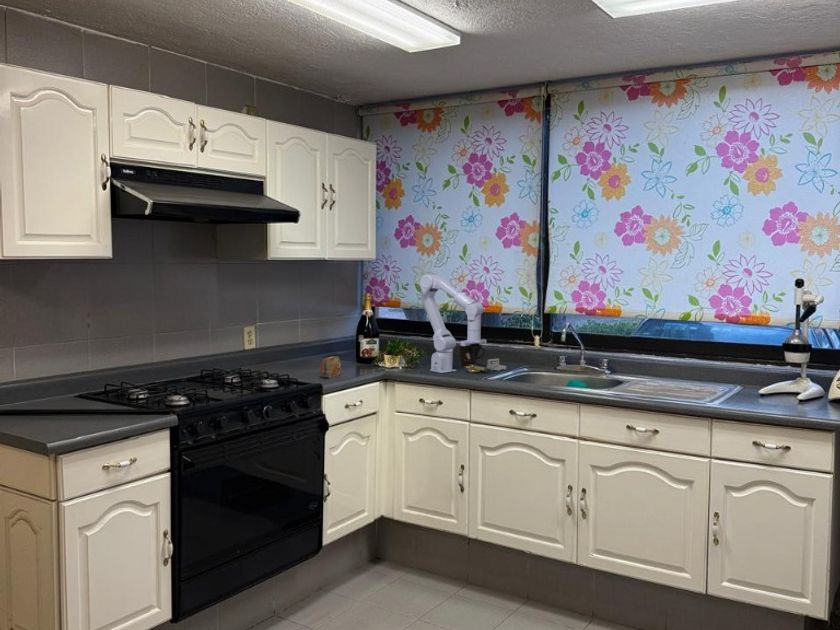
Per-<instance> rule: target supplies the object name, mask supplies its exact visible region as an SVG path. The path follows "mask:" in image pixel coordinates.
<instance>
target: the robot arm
mask: <svg viewBox="0 0 840 630" xmlns="http://www.w3.org/2000/svg"><path fill="white" fill-rule="evenodd" d="M418 284H419V287H420V298H421V301H422V304H423V306H424V309H425V312H426V314H427V316H428V318H429V319H428V320H429V321H430V325H431V327H432V329H433V333H434V334H433V336H432V340H433V347H434V349H435V351H436V352H433V353H432V355H431V359H430V360H431V362H430V363H431V365H430V367H431V368H430V369H429V371H430V372H435V373H440V374H445V373H451V372H452V371H453V372H457V371H458V370H457V369H453V359H454V356H453V355H454V349H455V347H456V346H457V341H456V338H455V337H454V336H453V335H452V333H451V331H449V330H448V329H447V328H446V326H445V323H444V321H443V317H442V315H441V312H440V309H439V307H438V304H437V302H436V300H435V296H436V293H437V292H438V291H439V290H442V291H443V292H444V293H446V294H447V295H449V296H450V297H451V298H453V299H454V303H455V304H456V305H457V306H459V307H460V308H461V309H462V310H463V311H465V314H466V316H467V318H466V319H467V338H466V340H461V341H460V344H461V346H466V348H467V350H468V352H469V355H470V359H471V361H474V362H475V363H476V362H477V360H478V359H477V358H478V357H479V353H480V350H482V349H481V348H483V347H482V345H483V344H484V345H485V344H487V339H485V338H481V330H482V329H481V328H482V327H481V324H482V314H483V313H484V307H483V304H482V303H481V302H479V301H478V302H476V301H475V299H473V298H471V297H469V295H468V293H467V292H464V291H463V292H459V291H458V290H457V289H456V288H454V286H453V285H451V284H450V283H449V282H448V281H446V279H445V278H444V277H443V276H441V275H439V274H424V275H423V276H422V277H421V278H420V281H419V282H418Z"/></svg>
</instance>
